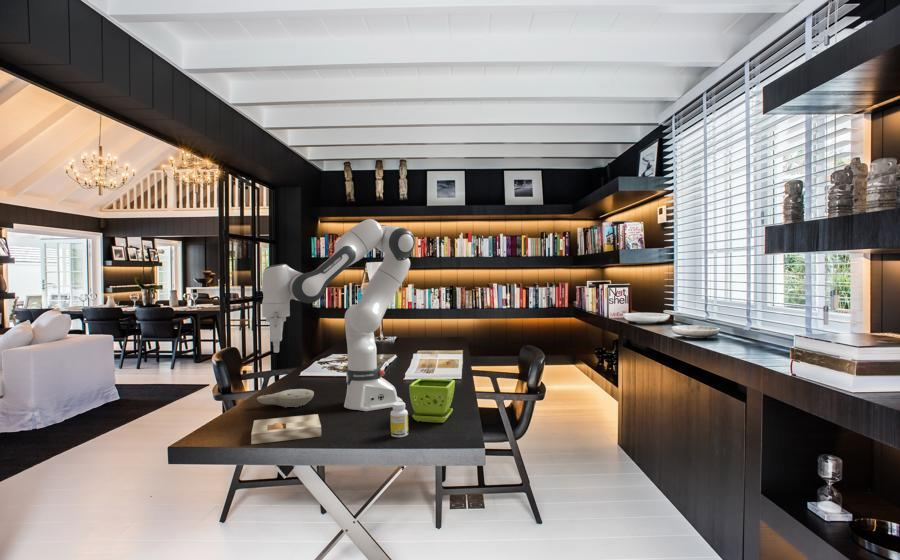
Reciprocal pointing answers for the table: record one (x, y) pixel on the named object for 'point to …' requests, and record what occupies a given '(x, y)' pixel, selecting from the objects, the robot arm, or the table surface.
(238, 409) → the table surface
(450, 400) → the flower pot
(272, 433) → the hole board
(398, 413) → the supplement bottle
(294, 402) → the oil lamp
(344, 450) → the table surface
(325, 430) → the table surface
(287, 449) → the table surface
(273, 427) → the ball
